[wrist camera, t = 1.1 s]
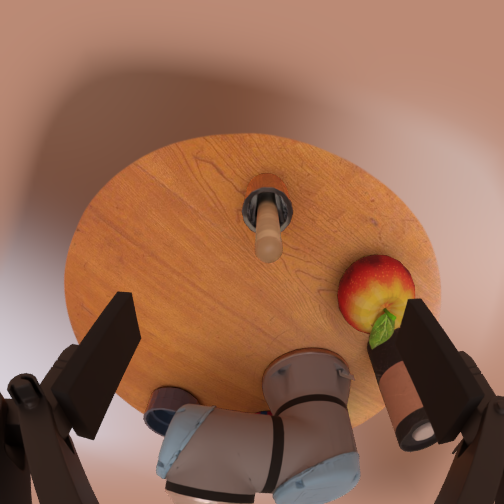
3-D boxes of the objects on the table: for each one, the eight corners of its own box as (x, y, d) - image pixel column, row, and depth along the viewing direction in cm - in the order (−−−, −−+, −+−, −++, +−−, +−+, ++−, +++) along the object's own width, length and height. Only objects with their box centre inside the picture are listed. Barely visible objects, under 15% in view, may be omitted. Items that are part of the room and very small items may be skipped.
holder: (286, 212, 41) (291, 236, 33) (246, 211, 41) (241, 235, 33) (287, 173, 39) (294, 188, 31) (246, 172, 39) (241, 186, 31)
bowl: (203, 419, 58) (199, 442, 52) (156, 413, 58) (149, 435, 53) (198, 387, 54) (193, 411, 48) (147, 381, 54) (138, 404, 49)
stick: (274, 201, 40) (282, 268, 22) (258, 201, 40) (254, 267, 22) (275, 185, 39) (284, 241, 22) (258, 185, 39) (254, 240, 22)
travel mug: (397, 360, 50) (434, 448, 32) (359, 358, 50) (389, 455, 32) (413, 325, 47) (463, 414, 29) (374, 322, 47) (416, 420, 29)
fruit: (411, 254, 42) (442, 287, 33) (384, 315, 47) (405, 356, 37) (346, 236, 42) (367, 269, 33) (321, 304, 46) (333, 347, 37)
